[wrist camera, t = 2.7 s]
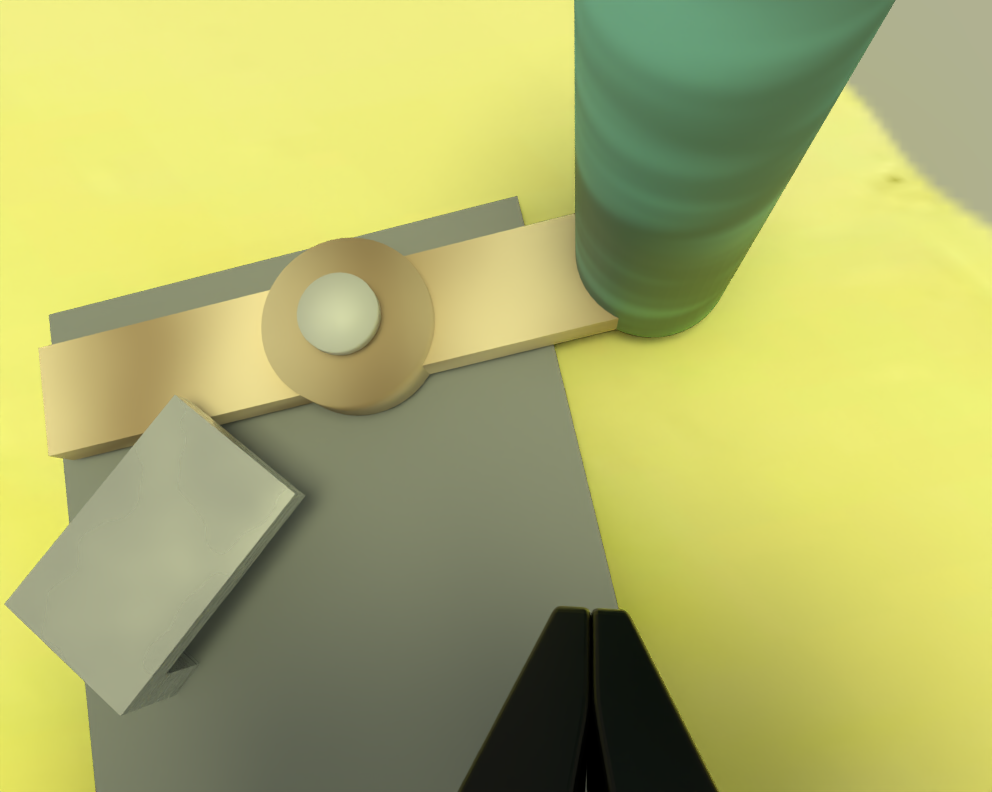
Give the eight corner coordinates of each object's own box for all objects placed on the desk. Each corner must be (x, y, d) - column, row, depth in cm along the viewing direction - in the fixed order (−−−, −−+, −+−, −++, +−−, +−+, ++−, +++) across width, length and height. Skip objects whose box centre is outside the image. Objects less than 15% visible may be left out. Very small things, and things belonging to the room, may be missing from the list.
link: (76, 485, 21) (-730, 392, 8) (60, 333, 21) (-683, 31, 9) (749, 323, 20) (1071, -85, 7) (702, 172, 20) (911, -438, 8)
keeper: (219, 411, 21) (174, 394, 19) (327, 499, 20) (294, 493, 18) (70, 597, 20) (4, 604, 18) (175, 695, 20) (120, 715, 17)
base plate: (685, 886, 18) (708, 956, 15) (131, 995, 19) (46, 1082, 16) (518, 205, 22) (509, 150, 19) (62, 320, 23) (-17, 286, 20)
